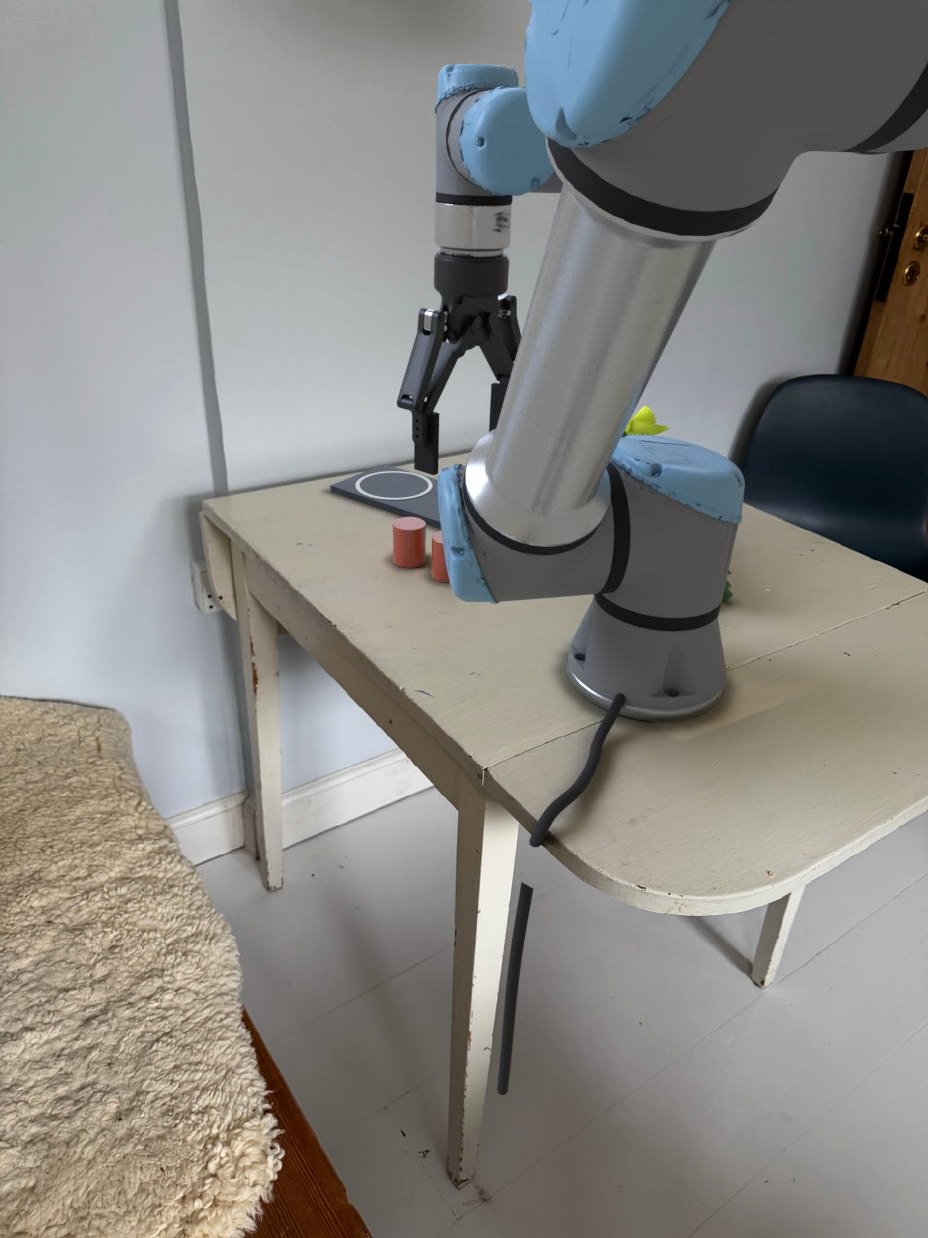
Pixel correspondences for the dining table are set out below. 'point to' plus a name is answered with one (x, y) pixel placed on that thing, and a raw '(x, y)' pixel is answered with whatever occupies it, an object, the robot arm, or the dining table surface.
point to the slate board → (394, 492)
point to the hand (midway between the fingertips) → (464, 455)
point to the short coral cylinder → (438, 559)
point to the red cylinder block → (409, 542)
